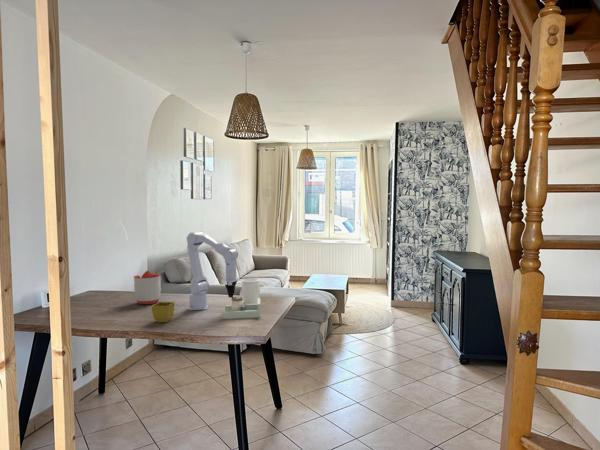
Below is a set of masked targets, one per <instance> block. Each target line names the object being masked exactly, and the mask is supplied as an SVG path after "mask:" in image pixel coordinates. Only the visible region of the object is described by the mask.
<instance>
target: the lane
mask: <svg viewBox="0 0 600 450" xmlns="http://www.w3.org/2000/svg"><path fill="white" fill-rule="evenodd" d="M261 309H262V308H261V297H259V298H258V301H257V304H246V311H232V304H227V305H225V306H224V311H222V320H227V319H228V320H229V319H231V320H233V319H252V318H253V319H254V318H261V317H262V316H261V315H262V314H261V312H262V311H261Z"/></svg>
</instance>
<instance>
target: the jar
mask: <svg viewBox="0 0 600 450" xmlns="http://www.w3.org/2000/svg"><path fill="white" fill-rule="evenodd" d="M260 281H261V279H259V278H244V279H242V280H241V282H242V283H241V294H242V300H243V302H246V304H257V301H258V298H260V293H261V287H260V286H261V285H260Z"/></svg>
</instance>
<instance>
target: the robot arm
mask: <svg viewBox="0 0 600 450" xmlns="http://www.w3.org/2000/svg"><path fill="white" fill-rule="evenodd" d="M186 243H187V245H186V246H187V247H186V249H187V254H188V258H189V263H190V268H191V273H192V279H191V280H190V292H191V293H190V294H189V311H201V310H204V311H206V310H208V308H209V305H208V302H207V299H208V298H207V296H208V295H207V293H208V291H209V289H210V283H209V281H208V279H207V277H205V276H204V275H203V268H202V265H201V259H200V255H199V247H200V246H202V244H203V243H205V244H207V245H209V246H210V247H212V248H214V251H215V252H216V253H218V254H219V255H220V256H222V257H223V260H224V263H225V282H226V284H224V286H225V288H226V291H227V295H228V296H227V297H228V298H232V297H234V294H235V291H236V290H235V289H236V285H237V282H238V281H239V278H237V258H238V256H239V253H238V251H237V249H235V248H231V247H230V246H227V245H226V244H225V242H218V241H216V240H214V239H213V238H212V237H210V236H209V235H208V233H206V232H205V231H198V232H197V231H196V232H190V233H188V234H187V236H186Z"/></svg>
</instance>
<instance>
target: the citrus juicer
mask: <svg viewBox="0 0 600 450" xmlns="http://www.w3.org/2000/svg"><path fill="white" fill-rule="evenodd" d="M161 275H162V274H160V273H151V271H148V270H146V271H145V272H144V273H143V274H142V275H139V274H137V275H133V283H134V296H135V299H136V302H137V303H139V304H138V305H143V304H147V305H154V304H156V302H157V303H158V302H160V301H159V300H160V296H161V291H162V288H161V286H162V283H161V281H162V280H161Z"/></svg>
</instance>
